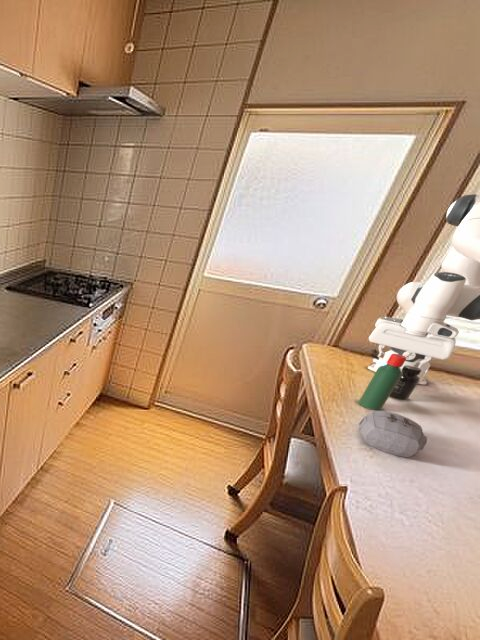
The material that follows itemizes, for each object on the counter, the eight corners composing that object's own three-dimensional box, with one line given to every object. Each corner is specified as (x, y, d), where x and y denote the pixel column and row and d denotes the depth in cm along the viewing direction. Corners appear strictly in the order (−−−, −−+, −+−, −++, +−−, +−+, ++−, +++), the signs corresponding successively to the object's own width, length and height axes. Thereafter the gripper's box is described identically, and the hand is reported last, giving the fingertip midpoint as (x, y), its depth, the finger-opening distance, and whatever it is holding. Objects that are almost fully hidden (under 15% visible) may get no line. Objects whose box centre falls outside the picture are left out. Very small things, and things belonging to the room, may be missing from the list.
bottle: (356, 404, 152) (384, 356, 143) (360, 399, 155) (387, 352, 147) (379, 412, 147) (409, 363, 138) (382, 407, 151) (412, 359, 142)
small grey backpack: (419, 464, 119) (415, 438, 133) (436, 440, 115) (431, 415, 129) (352, 441, 128) (355, 418, 142) (366, 418, 124) (368, 397, 138)
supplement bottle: (412, 401, 157) (430, 373, 151) (391, 398, 158) (409, 370, 152) (399, 393, 163) (416, 365, 157) (379, 390, 164) (396, 362, 158)
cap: (402, 365, 144) (407, 356, 142) (400, 368, 141) (406, 359, 140) (387, 361, 146) (392, 352, 145) (385, 363, 144) (390, 355, 142)
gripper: (378, 316, 141) (358, 353, 148) (464, 335, 128) (438, 375, 135) (381, 313, 145) (361, 349, 152) (464, 331, 132) (439, 370, 139)
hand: (398, 362), depth 143 cm, fingers open, 8 cm apart
